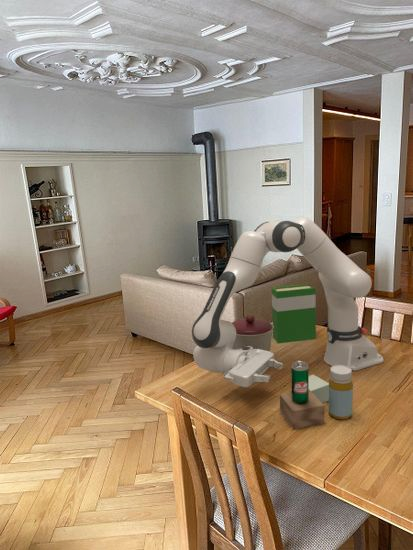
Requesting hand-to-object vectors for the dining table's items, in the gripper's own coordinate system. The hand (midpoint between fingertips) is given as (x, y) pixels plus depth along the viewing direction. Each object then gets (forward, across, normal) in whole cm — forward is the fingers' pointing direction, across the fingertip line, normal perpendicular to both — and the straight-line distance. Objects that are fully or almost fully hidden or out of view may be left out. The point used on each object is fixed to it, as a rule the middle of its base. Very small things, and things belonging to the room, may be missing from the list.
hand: (275, 372), depth 128 cm
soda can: (+8, 0, +7) cm, 11 cm away
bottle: (+18, +7, +13) cm, 24 cm away
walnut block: (+8, 0, +13) cm, 16 cm away
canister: (-22, +25, +13) cm, 36 cm away
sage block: (+7, +12, +13) cm, 20 cm away
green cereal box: (-17, +58, +13) cm, 62 cm away
